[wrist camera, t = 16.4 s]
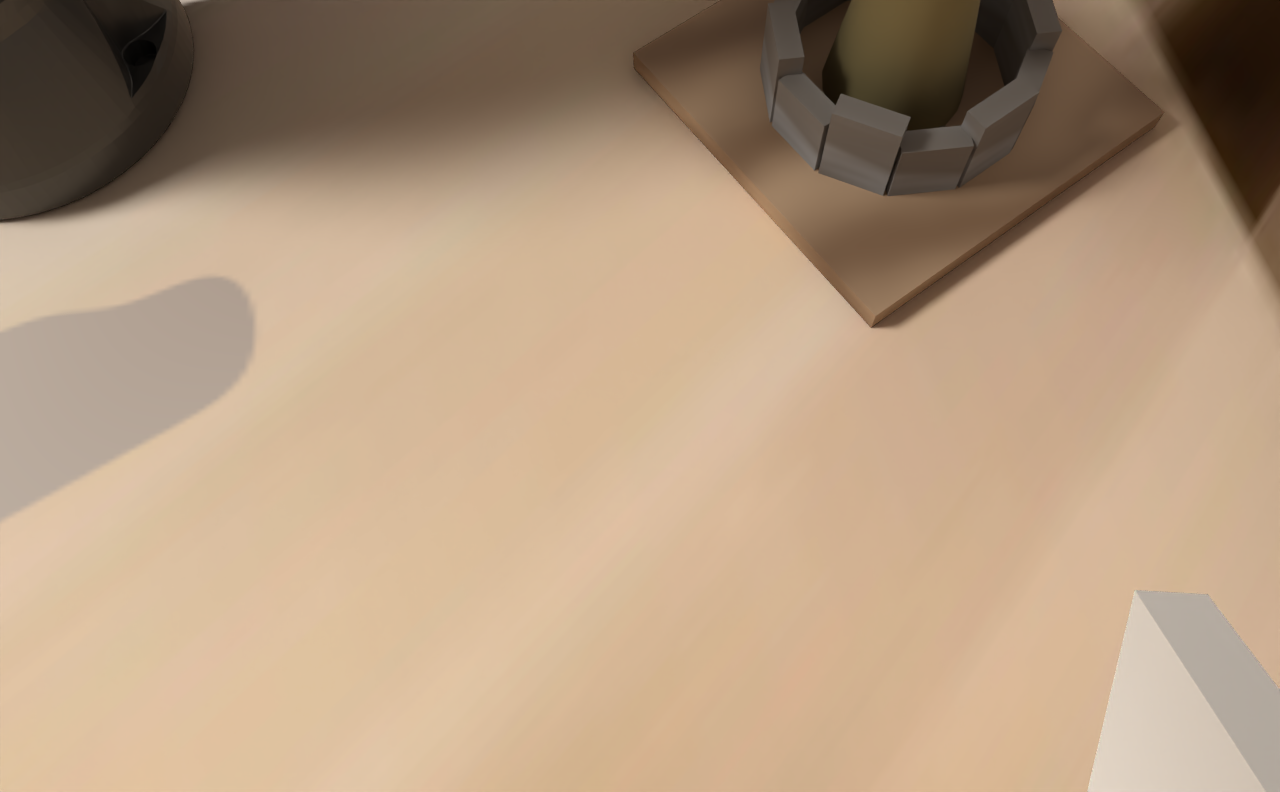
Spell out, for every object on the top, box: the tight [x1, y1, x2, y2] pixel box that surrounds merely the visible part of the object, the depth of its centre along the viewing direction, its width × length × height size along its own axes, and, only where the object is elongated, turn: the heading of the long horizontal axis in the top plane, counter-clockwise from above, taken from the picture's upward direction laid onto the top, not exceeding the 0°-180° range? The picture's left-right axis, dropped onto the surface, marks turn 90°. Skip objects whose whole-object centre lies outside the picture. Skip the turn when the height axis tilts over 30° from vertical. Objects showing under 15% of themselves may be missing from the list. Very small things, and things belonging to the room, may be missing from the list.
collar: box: [633, 0, 1164, 327], centre depth 47 cm, size 16×16×5 cm
